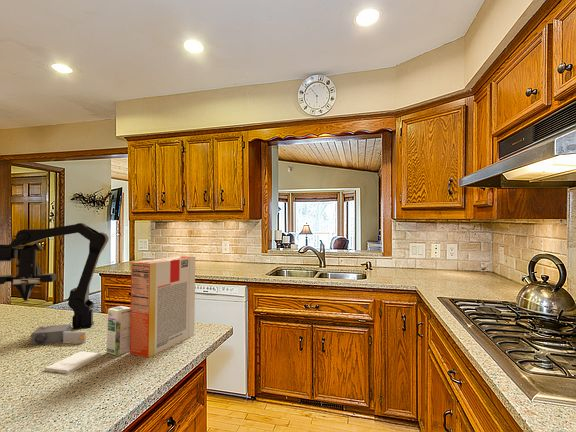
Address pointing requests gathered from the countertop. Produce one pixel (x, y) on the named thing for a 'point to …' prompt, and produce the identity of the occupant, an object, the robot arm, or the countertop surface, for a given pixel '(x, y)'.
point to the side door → (73, 336)
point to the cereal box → (161, 303)
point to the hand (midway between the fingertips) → (25, 300)
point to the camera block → (49, 334)
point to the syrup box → (118, 330)
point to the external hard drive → (73, 362)
